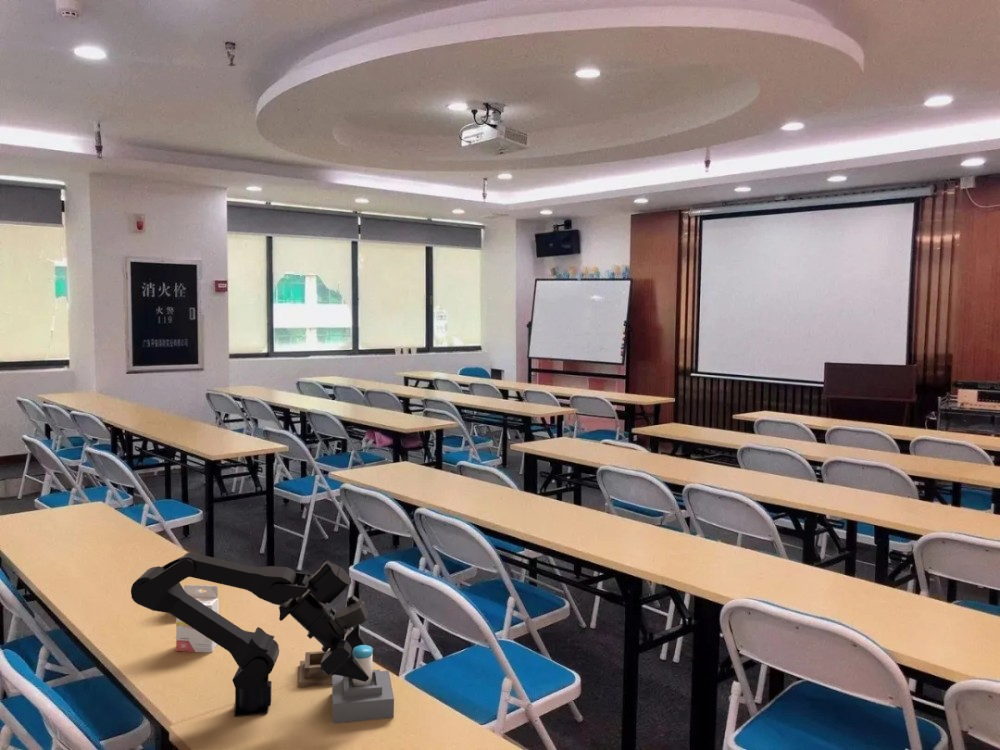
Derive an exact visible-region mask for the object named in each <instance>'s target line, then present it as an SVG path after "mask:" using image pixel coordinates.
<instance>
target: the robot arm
mask: <svg viewBox="0 0 1000 750" xmlns="http://www.w3.org/2000/svg"><path fill="white" fill-rule="evenodd" d="M187 578H193V579H198V580H202V581H206V582H209V583H210V582H211V583H215V584H219V585H223V586H228V587H231V588H237V589H242V590H245V591H248V592H250V593H252V594H253V595H254V596H256V597H257V598H258V599H260V600H262V601H265V602H268V603H270V604H272V605H277V606H278V605H279V606H278V609H279V619H278V620H279V621H280V622H282V621H283V620H284V619H286V618H287V617H288V616H289V615H290V616H291V618H293V619H294V620H295V621H296V622H297V623H299V625H300V626H301V627H302V628H303V629H305V630H306V632H307V635H306V636H307V637H308V638H309V640H311V639H313V638H314V639H315V640H316V641H317V642H319V644H321V646H322V647H321V650H320V651H324V652H326V651H328V652H327V653H325V654H324V655H323V658H322V661H321V671H322V672H323V673H325V674H326V675H327V676H329V675H332V676H333V675H340V676H345V677H349V678H353V679H356V680H360V681H364V682H366V681H367V680H368V679H369V676H368V675H367V674H366V672H365V671H364V670H363V668H362V667H361V666H360V665H359V663H358V662H357V661H356V660H355V658H354V648H355V647H356V646H360V645H367V644H366V643H365V640H364V639H363V638H362V637H363V636H362V635H361V633H360V632H361V631H360V629H361V628H360V627H361V625H362V624H364V623H365V622H366V621H367V619H368V618H367V617H368V614H369V612H368V610H367V609H366V606H365V601H363V600H362V598H358V597H357V596H355V595H354V594H353V595H351V596H349V597H347V599H346V602H345V605H346V606H344V605H343V606H342V608H341V609H339V610H336V608H334V607H331V606H330V607H329V608H327V607H326V606H325V605H326V604H331V603H333V602H334V601H335V600H336V599H337V598H338V597H339V596H340V595H341V594H342V593H343V592H344V591H345V590H346V589H348V587H350V585H352V579H351V576H350V575H349V574H348V573H347V571H346V570H344V568H343V567H341V566H339V565H337V564H335V563H332V562H331V561H330V560H326V561H325V562H323V564H322V565H321V567H320V568H319V569H318V570H317V571H315V573H307V572H306V573H305V572H297V571H295V570H294V569H292V568H290V567H286V566H275V565H268V566H261V567H258V566H251V565H246V564H243V563H238V562H235V561H234V562H233V561H229V560H225V559H221V558H217V557H211V556H208V555H204V554H200V553H198V552H196V551H189V552H188V551H187V552H186V553H185V554H184V555H182V556H180V557H178V558H176V559H174V560H172V561H169V562H167V563H166V564H164V565H163V566H152V567H150V568H148V569H146V571H144V572H143V573H142V574H141V575H140V576H139V577H138V578H137V579H136V580H134V582H133V583H132V585H131V586H130V587H131V588H130V594H131V599H132V601H133V602H134V603H135V604H137V605H138V606H141V607H144V608H146V609H148V610H150V611H153V612H159V613H166V614H170V615H171V616H173V617H175V619H176V618H178V619H179V620H181V621H182V622H184V623H185V624H187V625H188V626H190V627H192V628H193V629H195V630H196V631H198V632H199V633H201V634H202V635H204V636H205V637H207V638H209V639H210V640H212V641H213V642H215V643H216V644H217V646H219V647H221V648H223V649H224V650H225V651H227V652H228V653H229V654H230V655H231V656H232V658H233V659H234V661H235V663H236V665H237V666H238V668H237V670H236V672H235V674H234V676H233V677H232V680H231V681H232V683H233V685H234V695H235V696H234V697H235V698H234V701H235V702H234V706H235V707H234V712H233V717H243V716H244V717H246V716H256V715H265V714H268V713H269V707H271V705H272V693H273V692H272V689H273V688H272V680H270V678H269V677H270V676H269V675H270V674H271V673H272V671H273V670H274V668H275V666H276V663H277V660H278V657H279V654H280V648H279V647H280V646H279V644H278V642H277V641H276V640H275V635H273V634H269V633H267V632H266V631H264V629H262V628H261V627H260V626H257V627H256V629H255V630H254V631H248V630H244V629H242V628H241V627H239V626H237V625H236V624H234V622H232V621H230V620H228V619H227V618H226V617H224V616H222V615H221V614H219V613H216V612H215V611H213V610H212V609H210V608H209V607H207V606H205V605H204V604H202V603H201V602H199V601H198V600H196V599H195V598H193V597H192V596H190V595H189V594H187V593H186V592H185V591H184V589H183V588H184V587H183V586H182V585H181V582H182V581H184V580H185V579H187ZM372 658H373V656H372Z"/></svg>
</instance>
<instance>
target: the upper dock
mask: <svg viewBox="0 0 1000 750" xmlns="http://www.w3.org/2000/svg"><path fill="white" fill-rule="evenodd" d="M352 682H353V678H349V677H345V676H340V675H333V676H332V684H331V686H332V687H331V706H332V707H331V708H332V724H334V725H335V724H342V723H352V722H354V723H355V722H364V721H373V720H375V721H376V720H384V719H393V718H394V717H395V714H394V713H395V697H394V691H393V687H392V680H391V673H390V670H380V669H372V686H362V687H352Z"/></svg>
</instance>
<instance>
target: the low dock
mask: <svg viewBox="0 0 1000 750" xmlns="http://www.w3.org/2000/svg"><path fill="white" fill-rule="evenodd" d="M328 651H329V650H328ZM328 651H326V652H324V651H322V650H320V651H319V650H318V651H307V652H305V654H304V656H305V657H304V660H300V661H299V673H298V687H299V686H302V687H308V686H309V687H310V686H312V685H313V686H323V685H324V684H325V685H332V675H329V676H327V675H326V674H325V673H323V672H322V671H321V661H322V658H323V655H324V654H325V653H327V652H328ZM321 684H322V685H321ZM325 685H324V686H325ZM313 686H312V687H313Z"/></svg>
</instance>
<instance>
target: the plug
mask: <svg viewBox="0 0 1000 750" xmlns="http://www.w3.org/2000/svg"><path fill="white" fill-rule="evenodd" d="M373 649H374V648H373V647H372V646H370V645H367V644H366V645H360V646H356V647H355V648H354V658H355V660H356V661H357V662H358V663H359V665H360V666H361V667H362V668H363V670H364V671H365V672H366V674H367V675H368V676H369V679H368V680H367V681H366V682H364V681H360V680H356V679H353V682H352V687H362V686H372V670H373V657H372V656H373V653H374V652H373Z"/></svg>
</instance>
